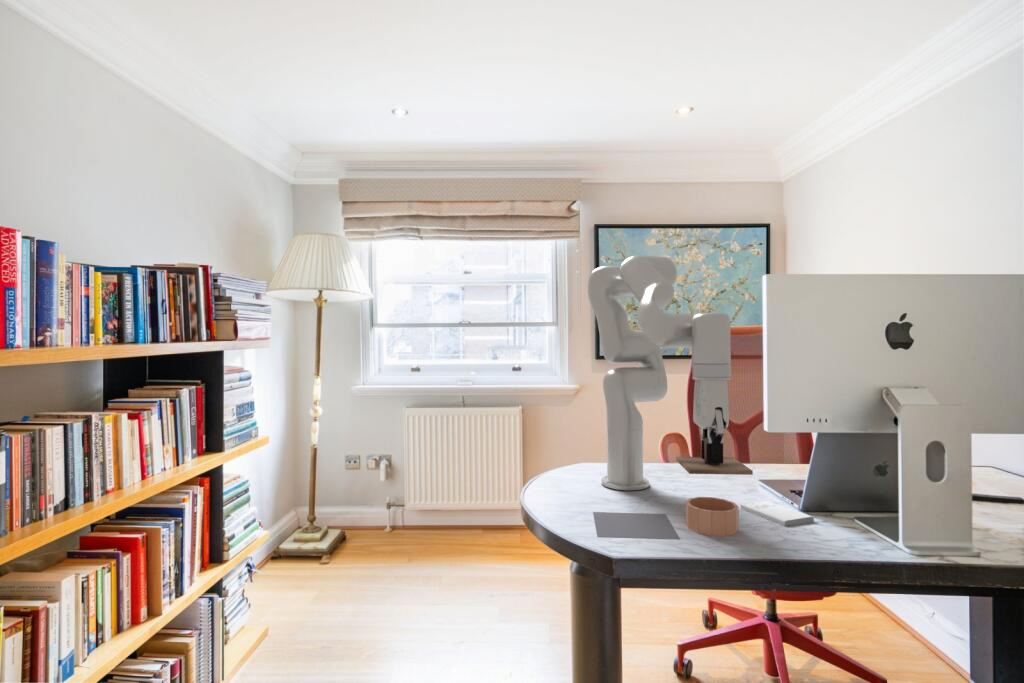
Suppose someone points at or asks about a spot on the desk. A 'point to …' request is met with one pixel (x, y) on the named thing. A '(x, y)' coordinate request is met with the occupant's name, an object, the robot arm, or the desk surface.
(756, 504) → the external hard drive
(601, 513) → the mat
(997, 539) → the desk surface
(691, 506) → the bowl
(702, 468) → the lid
